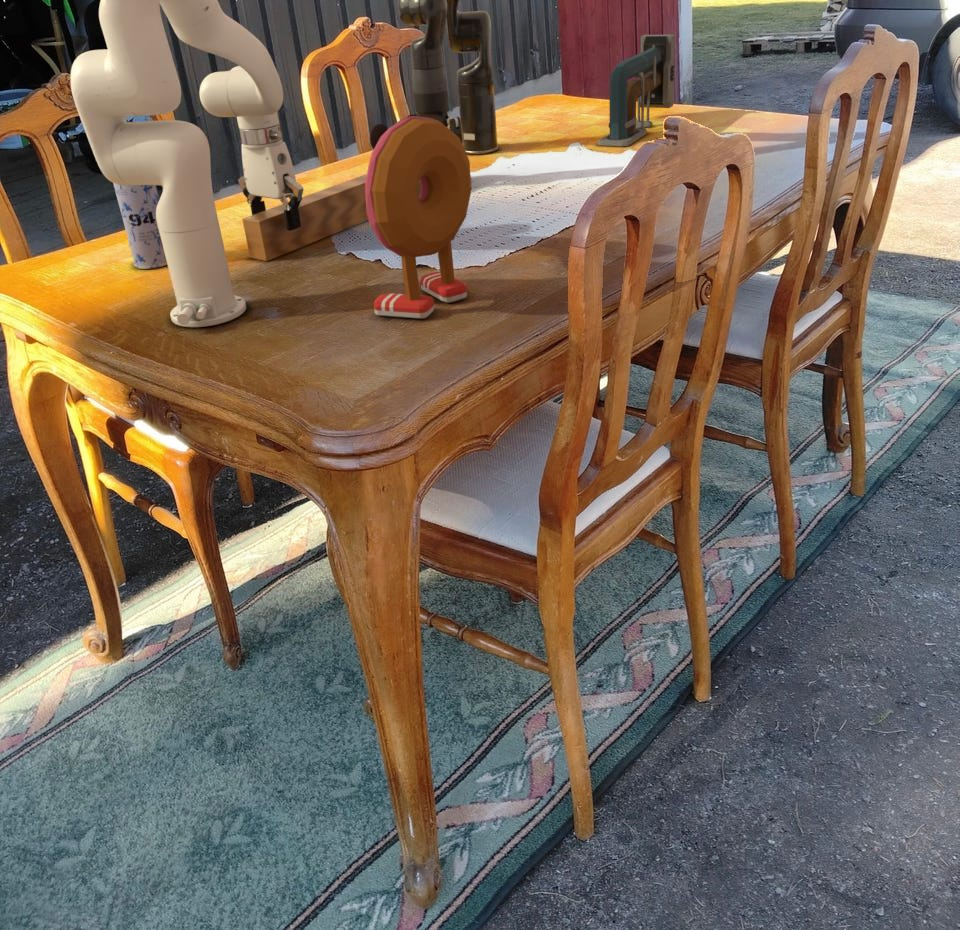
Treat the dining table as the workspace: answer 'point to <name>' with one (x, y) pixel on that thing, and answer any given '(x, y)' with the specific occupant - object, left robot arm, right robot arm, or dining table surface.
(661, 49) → the clamp
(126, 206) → the aerosol can
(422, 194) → the toy
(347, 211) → the post
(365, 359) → the dining table surface
